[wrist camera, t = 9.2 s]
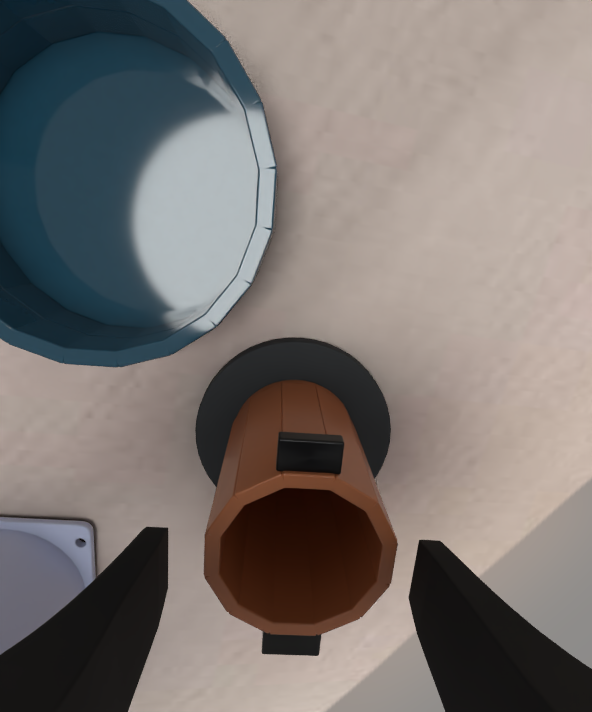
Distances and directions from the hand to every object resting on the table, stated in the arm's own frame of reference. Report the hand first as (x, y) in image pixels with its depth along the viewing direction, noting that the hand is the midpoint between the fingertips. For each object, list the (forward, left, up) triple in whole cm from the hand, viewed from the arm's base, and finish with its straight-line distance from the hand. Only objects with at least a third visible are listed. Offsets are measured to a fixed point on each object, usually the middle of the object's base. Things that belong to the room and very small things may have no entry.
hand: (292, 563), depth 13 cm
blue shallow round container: (+10, +7, -9) cm, 15 cm away
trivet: (0, 0, -9) cm, 9 cm away
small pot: (0, 0, -8) cm, 8 cm away
